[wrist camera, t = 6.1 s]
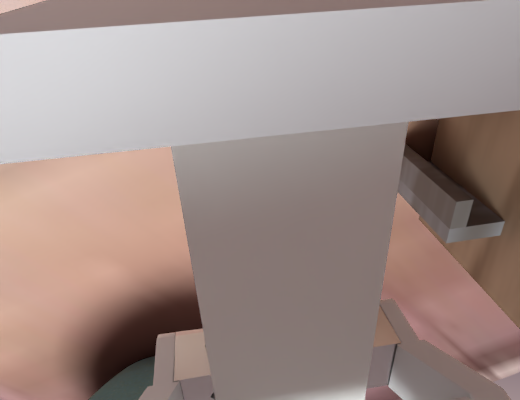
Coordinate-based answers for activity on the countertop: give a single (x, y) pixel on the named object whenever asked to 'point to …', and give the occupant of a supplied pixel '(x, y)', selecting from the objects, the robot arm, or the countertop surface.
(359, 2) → the white t-shaped piece
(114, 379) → the teal bowl
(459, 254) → the brown wooden block
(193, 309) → the countertop surface
